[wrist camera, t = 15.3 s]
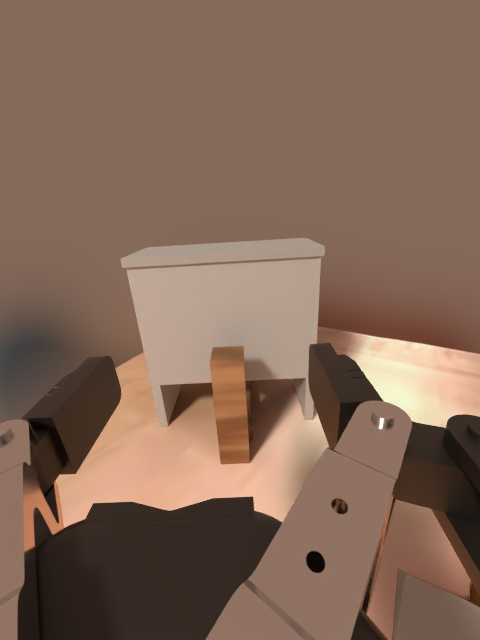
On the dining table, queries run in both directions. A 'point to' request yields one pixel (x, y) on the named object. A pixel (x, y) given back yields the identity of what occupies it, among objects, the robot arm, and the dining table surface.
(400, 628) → the kitchen cleaver
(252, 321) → the cabinet
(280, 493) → the dining table surface
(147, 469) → the dining table surface
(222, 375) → the upright wooden plank
